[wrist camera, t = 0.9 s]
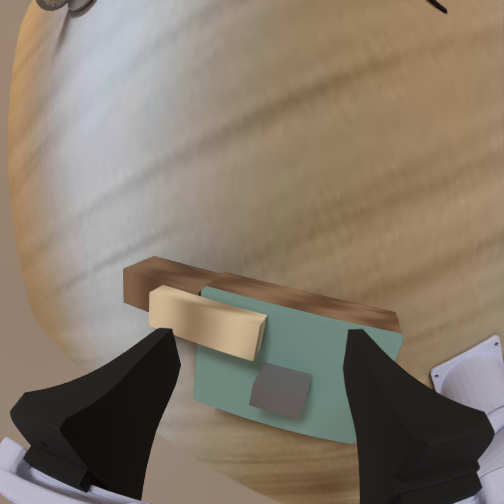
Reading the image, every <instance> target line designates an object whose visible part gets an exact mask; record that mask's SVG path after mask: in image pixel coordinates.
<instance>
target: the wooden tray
mask: <svg viewBox="0 0 504 504" xmlns="http://www.w3.org/2000/svg"><path fill="white" fill-rule="evenodd" d="M162 285H165V286H168V287H172V288H175V289H178V290H181V291H184V292H188V293H191V294H194V295H198V296H201V290H202V289H203V288H205V287H206V286H209V287H212V288H216V289H219V290H223V291H227V292H230V293H234V294H238V295H241V296H245V297H249V298H253V299H256V300H260V301H264V302H268V303H272V304H276V305H280V306H284V307H288V308H292V309H296V310H300V311H304V312H308V313H312V314H316V315H320V316H325V317H329V318H333V319H337V320H342V321H346V322H351V323H355V324H360V325H364V326H369V327H373V328H378V329H383V330H387V331H392V332H397V333H402V332H401V329H400V325H399V322H398V319H397V315H396V312H392V311H387V310H383V309H378V308H374V307H369V306H365V305H360V304H356V303H351V302H347V301H343V300H338V299H334V298H330V297H325V296H321V295H317V294H313V293H308V292H304V291H300V290H296V289H292V288H287V287H283V286H279V285H275V284H271V283H267V282H263V281H259V280H255V279H251V278H247V277H243V276H239V275H235V274H231V273H227V272H224V273H223V274H219V273H215V272H211V271H207V270H204V269H200V268H196V267H192V266H189V265H185V264H181V263H177V262H174V261H170V260H166V259H163V258H159V257H156V256H153V257H151V258H148V259H146V260H143V261H141V262H138V263H136V264H134V265H131V266H129V267H126V268H124V269H123V287H124V303H127V304H129V305H132V306H134V307H137V308H139V309H142V310H145V311H147V312H149V293H150V292H151V291H153V290H155V289H157V288H158V287H160V286H162Z"/></svg>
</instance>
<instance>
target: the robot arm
mask: <svg viewBox="0 0 504 504" xmlns="http://www.w3.org/2000/svg"><path fill="white" fill-rule="evenodd" d="M495 343H497V344H496V345H495ZM180 367H181V363H180V359H179V355H178V351H177V347H176V342H175V338H174V334H173V329H172V328H158V329H156V330H155V331H153V332H152V333H151V334H149V335H148V336H147V337H145V338H144V339H142V340H141V341H140V342H138V343H137V344H136V345H134V346H133V347H131V348H130V349H129V350H127V351H126V352H124V353H123V354H121V355H120V356H118V357H117V358H115V359H114V360H112V361H111V362H109V363H107V364H106V365H104V366H102V367H101V368H99V369H97V370H95V371H93V372H91V373H89V374H87V375H84V376H82V377H80V378H77V379H75V380H73V381H70V382H67V383H64V384H61V385H58V386H54V387H51V388H47V389H42V390H37V391H31V392H26V393H24V394H23V396H22V397H21V398H20V399H19V401H18V402H17V403H16V404H15V406H14V407H13V408H12V409H11V411H10V415H11V419H12V421H13V423H14V424H15V426H16V427H17V428H18V430H19V431H20V432H21V434H22V435H23V436H24V437H25V439H26V440H27V441H28V443H29V444H30V445H31V447H30V448H29V450H27V449H25V448H24V447H23V446H22V445H20V444H18V443H16V442H15V441H13V440H11V439H9V438H8V437H5V438H4V440H3V441H2V443H1V444H0V493H1V494H2V495H3V496H4V497H6V498H7V499H8V500H9V501H10V502H11V503H13V504H151V503H147V502H143V501H141V498H142V491H143V484H144V479H145V473H146V468H147V464H148V460H149V455H150V451H151V447H152V444H153V440H154V437H155V433H156V430H157V427H158V425H159V422H160V420H161V418H162V415H163V413H164V411H165V408H166V406H167V404H168V402H169V399H170V397H171V395H172V392H173V390H174V388H175V385H176V382H177V378H178V375H179V371H180ZM343 374H344V383H345V390H346V394H347V398H348V402H349V407H350V411H351V415H352V419H353V423H354V428H355V433H356V438H357V448H358V460H359V477H360V504H504V364H503V357H502V350H501V344H500V338H499V337H498V335H494V336H492V337H490V338H489V339H487V340H485V341H484V342H482V343H480V344H478V345H477V346H475V347H473V348H471V349H470V350H468V351H466V352H464V353H462V354H460V355H458V356H456V357H455V358H453V359H451V360H449V361H447V362H445V363H443V364H441V365H439V366H437V367H434V368H433V369H432V370H431V371H430V374H431V377H432V380H433V383H434V387H435V390H436V391H434V390H432V389H430V388H429V387H427V386H425V385H424V384H422V383H421V382H420V381H418V380H417V379H415V378H414V377H413V376H411V375H410V374H409V373H407V372H406V371H405V370H404V369H403V368H401V367H400V366H399V365H398V364H397V363H396V362H395V361H393V360H392V359H391V358H390V357H389V356H388V355H387V354H386V353H385V352H384V351H383V350H382V349H381V348H380V347H379V346H378V345H377V343H376V342H375V341H374V340H373V339H372V338H371V337H370V336H369V335H368V334H367V333H366V332H365V331H364V330H363V329H348V334H347V342H346V349H345V356H344V363H343ZM435 375H438V376H437V377H435Z"/></svg>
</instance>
